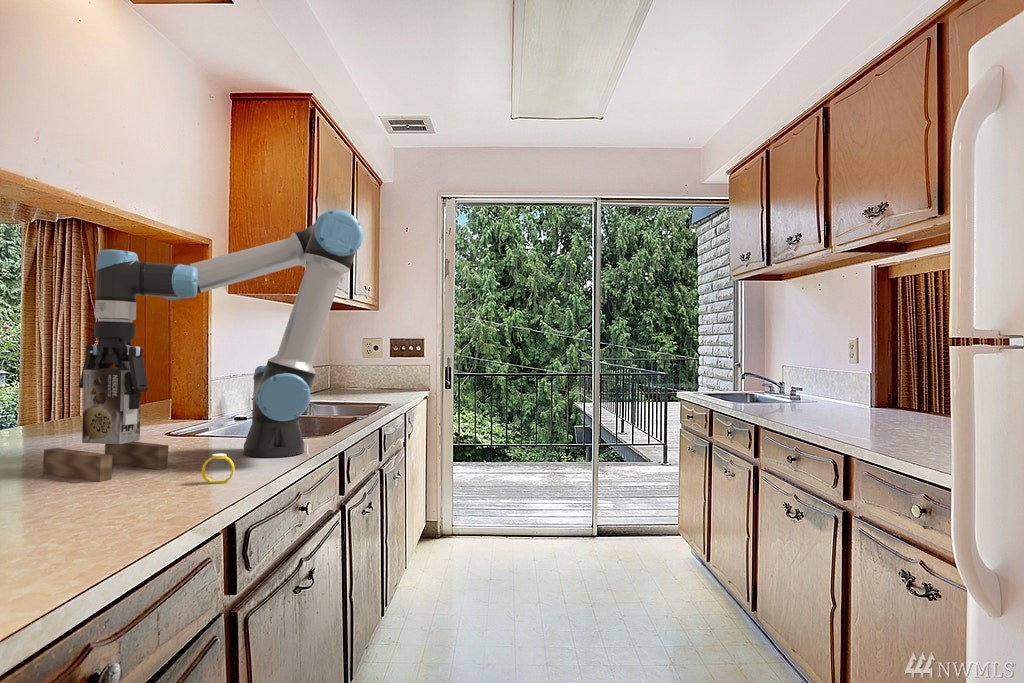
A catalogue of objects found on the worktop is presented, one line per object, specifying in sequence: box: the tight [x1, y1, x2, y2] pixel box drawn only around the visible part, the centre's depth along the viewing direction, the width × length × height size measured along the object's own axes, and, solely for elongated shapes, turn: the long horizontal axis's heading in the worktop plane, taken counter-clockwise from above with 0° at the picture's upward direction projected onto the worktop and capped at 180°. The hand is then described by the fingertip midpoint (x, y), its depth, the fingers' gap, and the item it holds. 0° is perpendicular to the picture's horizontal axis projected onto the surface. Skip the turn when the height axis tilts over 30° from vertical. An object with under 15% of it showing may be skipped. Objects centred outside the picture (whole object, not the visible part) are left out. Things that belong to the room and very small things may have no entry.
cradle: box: [42, 441, 169, 483], centre depth 128 cm, size 16×16×5 cm
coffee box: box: [81, 367, 142, 445], centre depth 128 cm, size 9×6×16 cm
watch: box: [201, 452, 236, 484], centre depth 122 cm, size 6×3×6 cm, turn 106°
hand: (112, 422), depth 128 cm, fingers closed on coffee box, 10 cm apart
